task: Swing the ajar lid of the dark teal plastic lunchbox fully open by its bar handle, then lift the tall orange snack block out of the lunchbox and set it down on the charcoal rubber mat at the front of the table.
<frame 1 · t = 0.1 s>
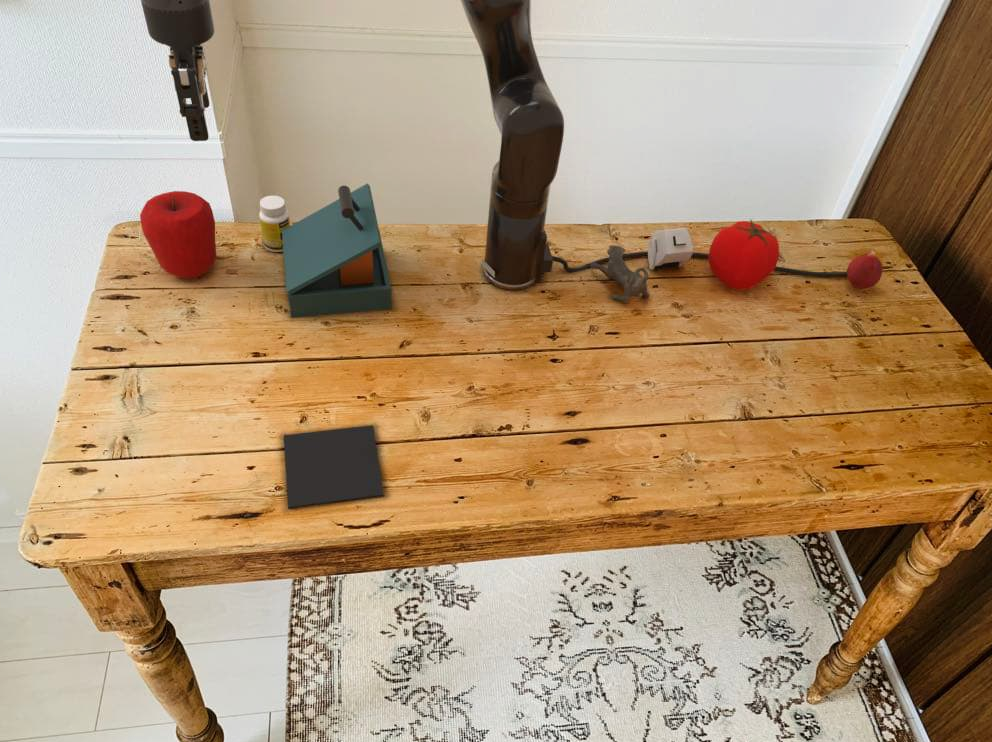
hand: (200, 122, 106), 29 cm above the table, tool pointing down, fingers open, 8 cm apart
lunchbox lid: (320, 227, 124), point 11 cm above the table, hinge at 30.0°
apple: (190, 269, 131), on the table
tomato: (734, 279, 144), on the table
lunchbox: (337, 281, 132), on the table
supplement bottle: (278, 245, 137), on the table
light grey block: (663, 266, 145), on the table
dog figurine: (619, 288, 139), on the table
mat: (332, 465, 107), on the table
snack block: (356, 276, 132), point 1 cm above the table, touching lunchbox
onion: (855, 288, 146), on the table
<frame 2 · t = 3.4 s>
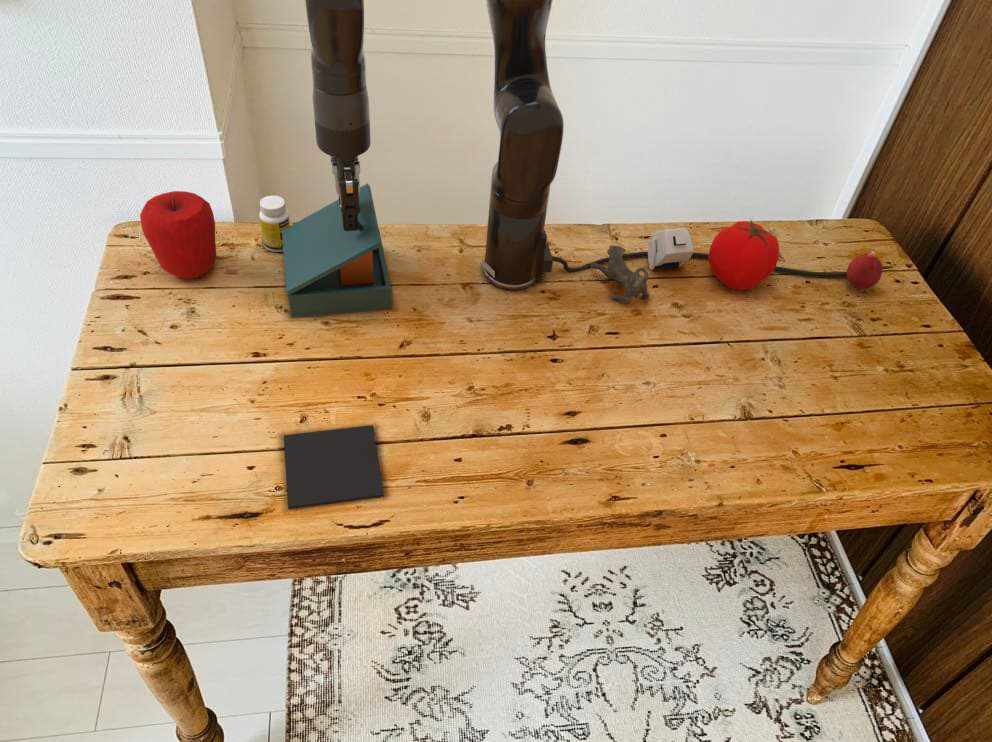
hand: (348, 216, 124), 13 cm above the table, tool pointing down, fingers closed on lunchbox lid, 6 cm apart
lunchbox lid: (321, 227, 124), point 11 cm above the table, hinge at 29.9°, touching gripper
everything else where it was.
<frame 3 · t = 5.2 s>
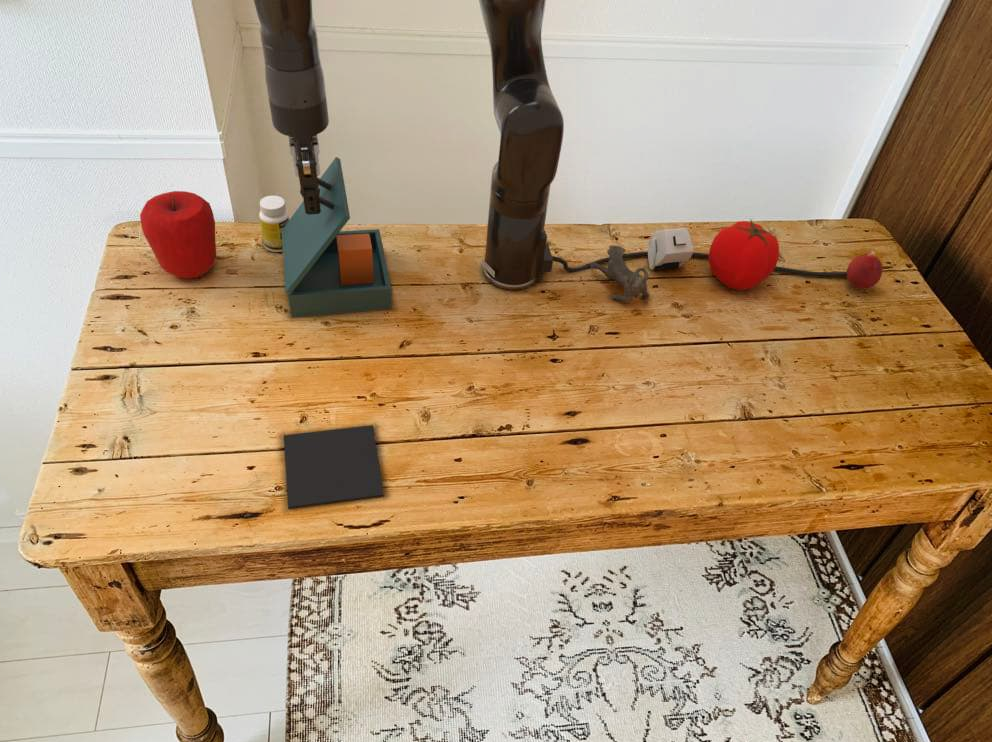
hand: (311, 199, 120), 16 cm above the table, tool pointing down, fingers closed on lunchbox lid, 6 cm apart
lunchbox lid: (299, 218, 122), point 13 cm above the table, hinge at 53.8°, touching gripper
everything else where it was.
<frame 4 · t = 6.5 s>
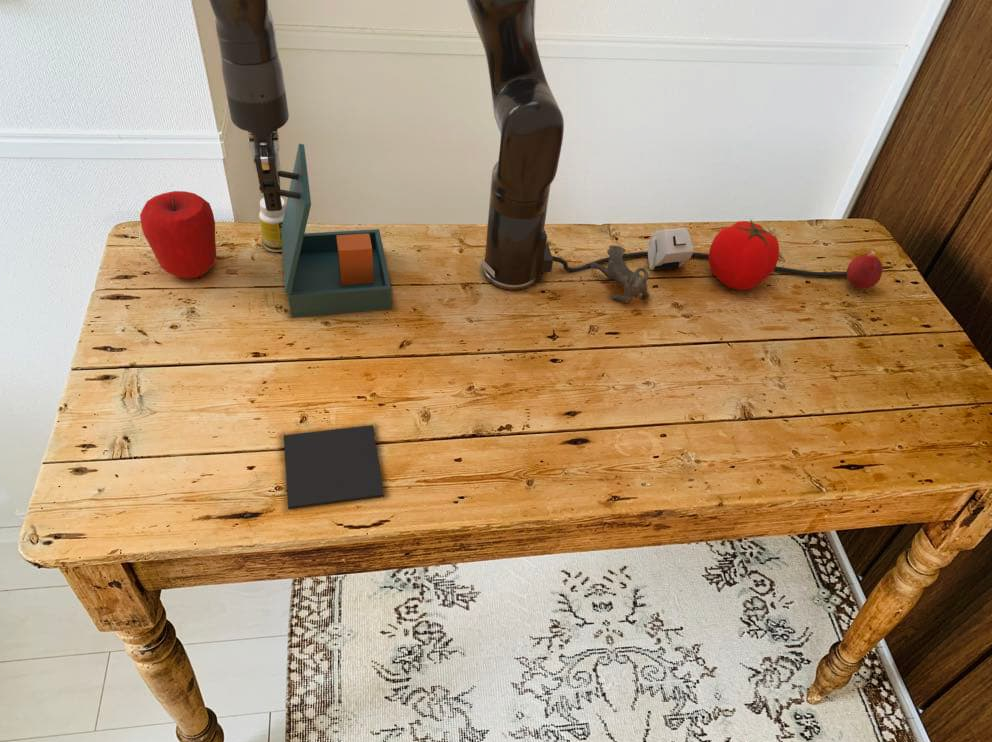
hand: (273, 196, 118), 17 cm above the table, tool pointing down, fingers closed on lunchbox lid, 6 cm apart
lunchbox lid: (279, 216, 121), point 13 cm above the table, hinge at 74.3°, touching gripper
everything else where it was.
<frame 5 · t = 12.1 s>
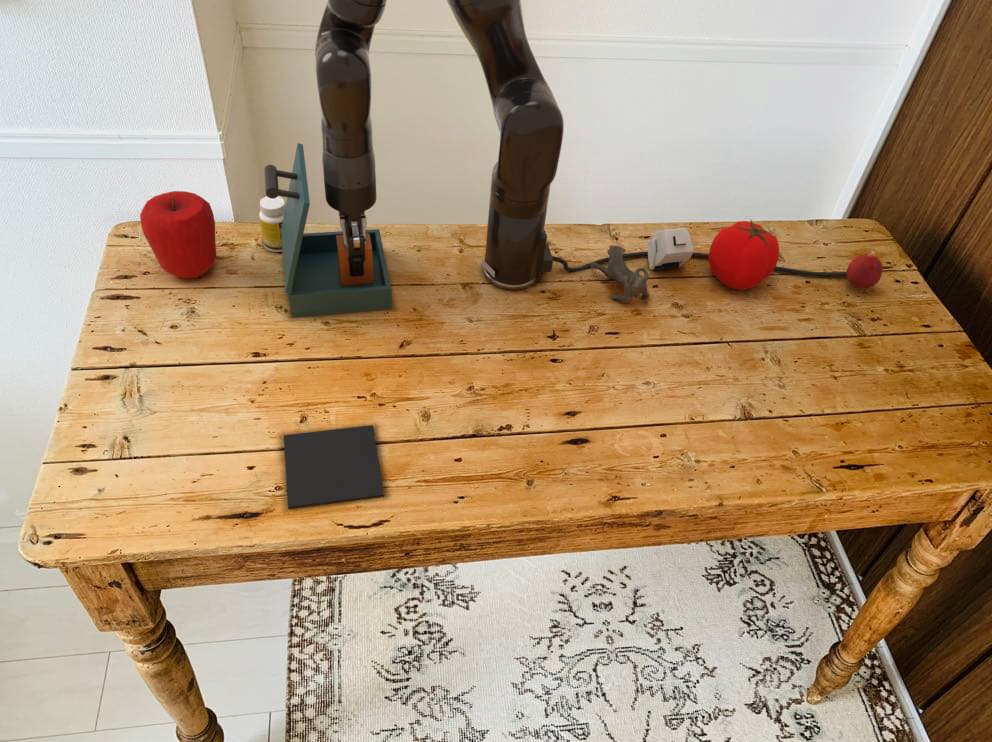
hand: (355, 265, 131), 3 cm above the table, tool pointing down, fingers closed on snack block, 4 cm apart
lunchbox lid: (278, 216, 121), point 13 cm above the table, hinge at 74.9°
snack block: (356, 276, 132), point 1 cm above the table, touching gripper, lunchbox
everything else where it was.
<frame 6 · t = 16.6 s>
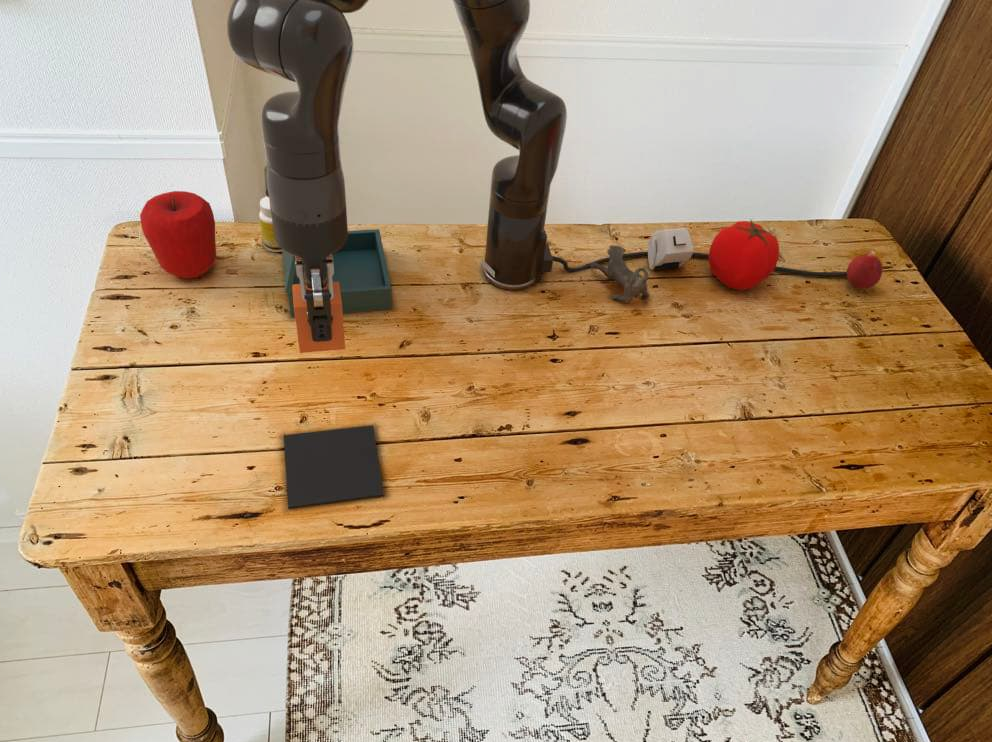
hand: (320, 325, 94), 21 cm above the table, tool pointing down, fingers closed on snack block, 4 cm apart
snack block: (321, 339, 96), point 19 cm above the table, touching gripper
everything else where it was.
when the fingers open (3 cm above the table, at t = 21.4 s): snack block stays where it is, resting on mat.
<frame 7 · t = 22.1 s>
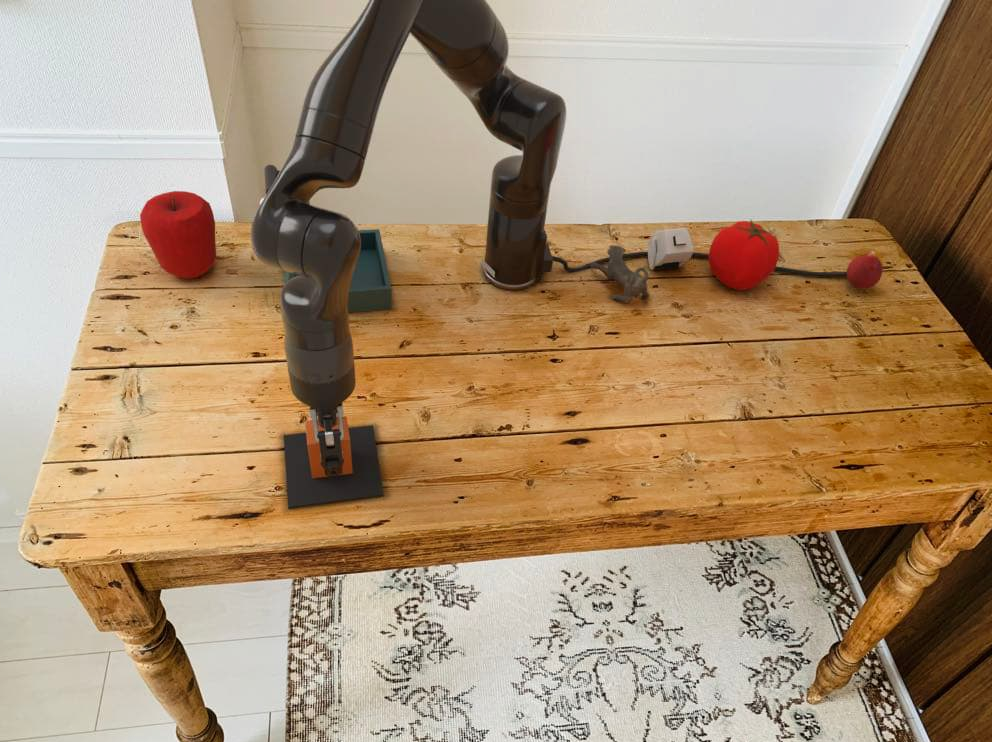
hand: (330, 447, 104), 4 cm above the table, tool pointing down, fingers open, 8 cm apart
snack block: (331, 464, 107), resting on mat
everything else where it was.
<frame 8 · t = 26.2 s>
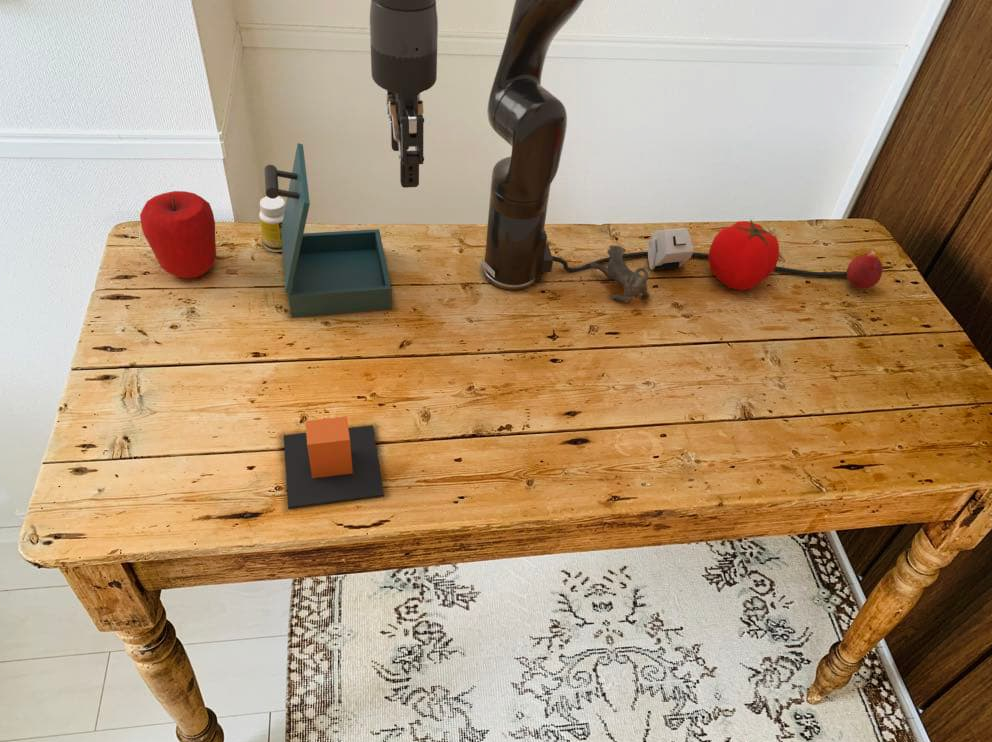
hand: (404, 167, 103), 30 cm above the table, tool pointing down, fingers open, 8 cm apart
nothing on the table moved.
at the end: lunchbox lid at +75° (first picture: +30°); snack block inside the target area on the mat (0.1 cm from its centre), point 0.4 cm above the mat's base; snack block touching mat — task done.
